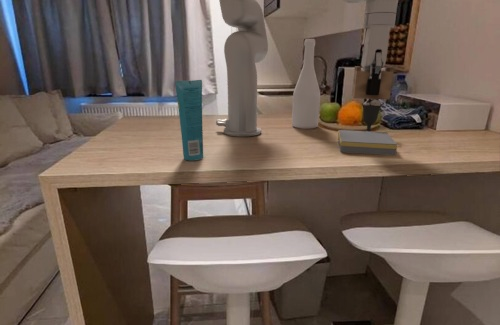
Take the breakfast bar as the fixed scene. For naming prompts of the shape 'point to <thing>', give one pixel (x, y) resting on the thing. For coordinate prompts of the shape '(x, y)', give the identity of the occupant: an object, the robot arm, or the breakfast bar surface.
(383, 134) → the dock
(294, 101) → the wine bottle
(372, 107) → the sundae
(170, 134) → the breakfast bar surface
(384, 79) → the brown open box
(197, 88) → the tube
